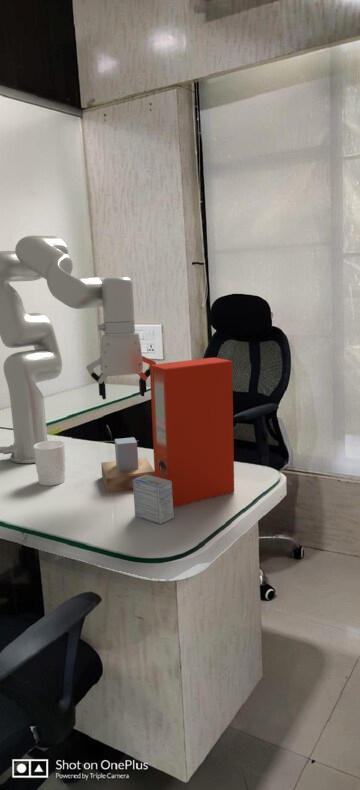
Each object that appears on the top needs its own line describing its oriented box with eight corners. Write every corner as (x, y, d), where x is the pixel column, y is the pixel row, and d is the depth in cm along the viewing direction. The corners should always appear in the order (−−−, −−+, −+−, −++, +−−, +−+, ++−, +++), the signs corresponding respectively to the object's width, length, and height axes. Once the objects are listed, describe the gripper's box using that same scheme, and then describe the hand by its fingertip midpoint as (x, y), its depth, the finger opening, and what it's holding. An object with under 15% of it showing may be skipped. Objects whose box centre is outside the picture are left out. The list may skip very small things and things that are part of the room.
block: (118, 471, 153) (117, 444, 152) (116, 465, 158) (114, 439, 156) (138, 468, 154) (137, 442, 153) (135, 463, 159) (133, 437, 158)
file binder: (235, 492, 146) (232, 360, 140) (171, 508, 138) (165, 368, 132) (217, 483, 153) (213, 357, 147) (155, 497, 145) (149, 364, 139)
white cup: (33, 480, 161) (30, 443, 159) (62, 474, 165) (59, 439, 163) (41, 488, 154) (37, 450, 152) (71, 483, 158) (68, 445, 156)
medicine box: (174, 518, 133) (172, 480, 131) (160, 525, 129) (158, 486, 128) (148, 510, 138) (146, 473, 136) (134, 516, 135) (132, 479, 133)
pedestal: (107, 492, 150) (106, 476, 149) (102, 477, 161) (101, 462, 161) (155, 486, 153) (154, 471, 152) (146, 472, 164) (146, 457, 163)
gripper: (85, 331, 144) (89, 402, 148) (156, 327, 148) (159, 397, 151) (82, 329, 151) (87, 396, 155) (151, 325, 155) (154, 391, 158)
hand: (123, 396), depth 153 cm, fingers open, 9 cm apart
